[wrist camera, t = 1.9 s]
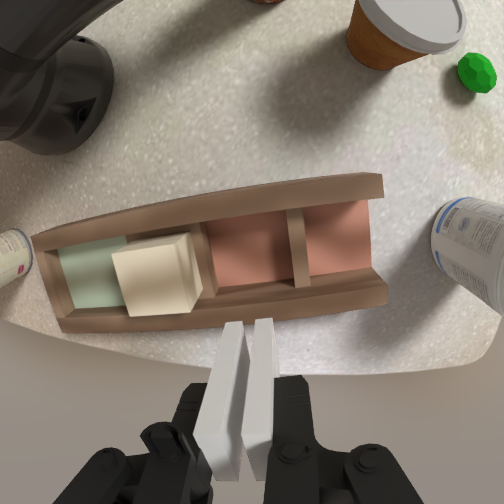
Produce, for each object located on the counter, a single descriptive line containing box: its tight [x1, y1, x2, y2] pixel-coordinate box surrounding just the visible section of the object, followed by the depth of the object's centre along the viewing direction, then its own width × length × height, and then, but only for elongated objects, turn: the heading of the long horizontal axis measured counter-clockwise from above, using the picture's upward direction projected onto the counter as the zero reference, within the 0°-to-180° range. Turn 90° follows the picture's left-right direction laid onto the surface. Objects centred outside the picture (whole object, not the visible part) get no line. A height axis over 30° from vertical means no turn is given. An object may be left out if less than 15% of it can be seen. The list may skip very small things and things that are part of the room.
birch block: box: [111, 231, 203, 317], centre depth 27 cm, size 6×6×5 cm
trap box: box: [31, 172, 387, 333], centre depth 29 cm, size 12×36×6 cm, turn 99°
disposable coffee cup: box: [347, 0, 466, 70], centre depth 18 cm, size 10×10×12 cm
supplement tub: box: [431, 197, 504, 317], centre depth 22 cm, size 10×10×15 cm
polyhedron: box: [458, 53, 497, 93], centre depth 21 cm, size 5×5×5 cm
